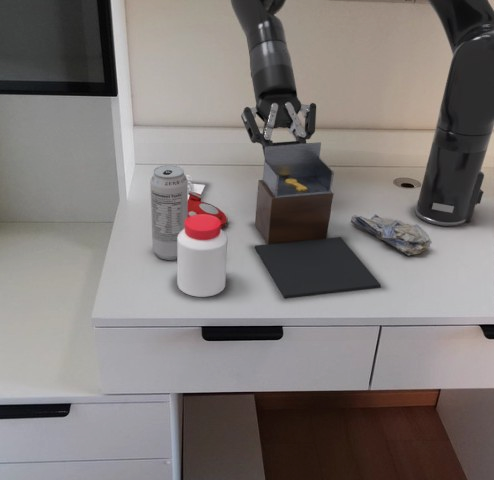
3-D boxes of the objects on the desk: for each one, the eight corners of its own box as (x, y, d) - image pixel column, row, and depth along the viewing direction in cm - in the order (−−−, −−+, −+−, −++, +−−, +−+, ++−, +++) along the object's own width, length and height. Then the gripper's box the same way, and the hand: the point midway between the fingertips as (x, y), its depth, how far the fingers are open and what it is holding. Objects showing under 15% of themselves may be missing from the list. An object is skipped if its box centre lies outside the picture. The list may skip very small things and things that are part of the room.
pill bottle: (235, 283, 98) (239, 222, 92) (201, 303, 94) (203, 239, 88) (201, 265, 103) (202, 205, 96) (167, 283, 98) (166, 221, 92)
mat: (254, 247, 108) (254, 245, 108) (340, 239, 110) (340, 236, 110) (284, 298, 95) (284, 295, 95) (380, 287, 98) (380, 284, 97)
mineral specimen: (436, 253, 107) (442, 232, 104) (396, 262, 104) (401, 240, 102) (384, 217, 118) (389, 197, 115) (347, 224, 115) (351, 204, 113)
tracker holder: (239, 217, 115) (202, 222, 108) (230, 237, 117) (194, 243, 110) (197, 183, 121) (160, 186, 114) (190, 203, 123) (153, 206, 116)
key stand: (254, 225, 115) (258, 179, 110) (310, 219, 117) (316, 175, 111) (267, 245, 108) (271, 198, 103) (326, 239, 110) (333, 193, 105)
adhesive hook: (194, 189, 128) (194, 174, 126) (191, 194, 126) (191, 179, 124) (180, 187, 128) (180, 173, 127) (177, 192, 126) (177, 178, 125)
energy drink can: (192, 247, 108) (193, 166, 99) (179, 264, 103) (179, 180, 95) (161, 241, 110) (159, 161, 101) (147, 257, 105) (143, 175, 96)
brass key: (282, 181, 108) (282, 180, 108) (291, 179, 109) (291, 177, 109) (300, 191, 104) (300, 190, 104) (309, 189, 105) (310, 187, 105)
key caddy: (254, 171, 113) (257, 136, 109) (306, 167, 114) (310, 132, 111) (274, 198, 103) (278, 161, 100) (330, 193, 105) (336, 156, 101)
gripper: (238, 64, 107) (254, 155, 105) (316, 60, 110) (333, 149, 107) (229, 87, 115) (243, 172, 112) (302, 83, 117) (318, 166, 114)
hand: (287, 161), depth 110 cm, fingers closed on key caddy, 5 cm apart
